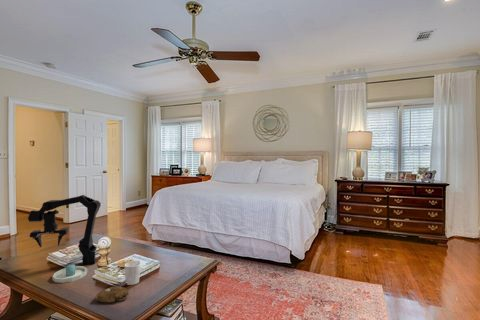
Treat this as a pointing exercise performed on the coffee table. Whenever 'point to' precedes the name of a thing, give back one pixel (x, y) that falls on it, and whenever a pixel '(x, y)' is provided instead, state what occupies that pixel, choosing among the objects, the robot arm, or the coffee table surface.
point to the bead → (70, 270)
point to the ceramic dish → (62, 278)
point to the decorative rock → (112, 294)
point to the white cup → (132, 272)
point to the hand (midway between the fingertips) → (49, 246)
